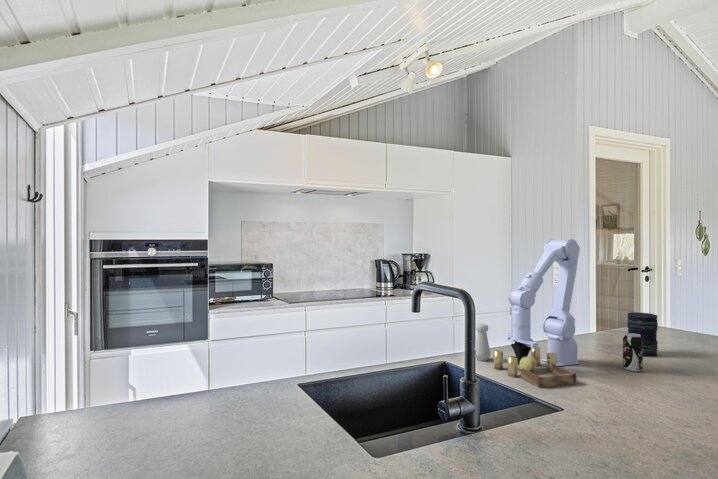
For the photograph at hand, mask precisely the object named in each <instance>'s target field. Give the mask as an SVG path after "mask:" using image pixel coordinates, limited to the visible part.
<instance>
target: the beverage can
mask: <svg viewBox="0 0 718 479" xmlns="http://www.w3.org/2000/svg"><path fill="white" fill-rule="evenodd" d="M643 363H644V357H643V340H642V338H641V335H639V334H634V333H628V332H626V333H624V336H623V338H622V368H623V369H625V370H627V371H630V372H634V373H635V372H641V371H642V370H643V368H644V367H643V366H644V365H643Z"/></svg>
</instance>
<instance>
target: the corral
mask: <svg viewBox="0 0 718 479" xmlns="http://www.w3.org/2000/svg"><path fill="white" fill-rule="evenodd" d="M520 379H521V380H523V381H526V382H527V383H529V384H532V385H533V386H535V387H537V388H539V389H542V388H550V387H559V386H567V385H568V386H570V385H576V384H577V374H576V373H575V372H571V371H570V370H567V369H565V368H562V367H561V366H553V373H552V375H543V376H540V375H538V374H537V373H533V371H528V370H525V369H520Z"/></svg>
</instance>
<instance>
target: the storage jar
mask: <svg viewBox="0 0 718 479" xmlns="http://www.w3.org/2000/svg"><path fill="white" fill-rule="evenodd" d="M658 324H659V323H658V315H657V314H655V313H650V312H649V313H647V312H633V311H632V312H627V320H626V325H627V326H626V327H627V333H634V334H639V335H641V338H642V340H643V358H644V357H645V358H655V357H658V348H659V346H658V344H659V343H658V340H657V336H658V335H657V332H658V329H659V328H658Z"/></svg>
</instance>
